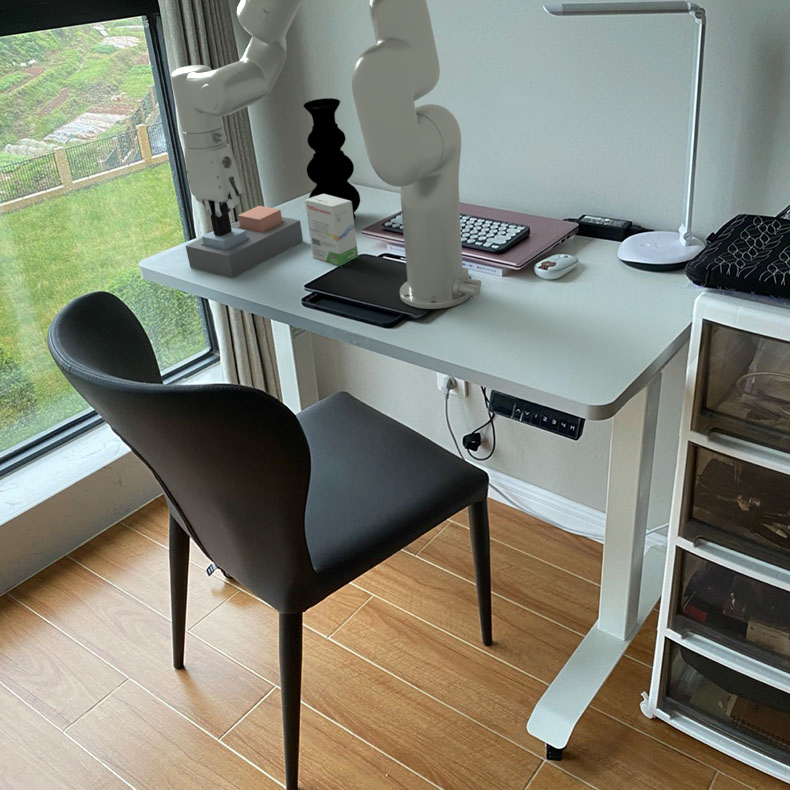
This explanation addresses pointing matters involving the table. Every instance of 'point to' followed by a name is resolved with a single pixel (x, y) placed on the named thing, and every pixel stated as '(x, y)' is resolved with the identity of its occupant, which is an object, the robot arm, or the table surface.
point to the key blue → (225, 239)
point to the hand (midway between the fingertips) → (223, 233)
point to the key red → (260, 219)
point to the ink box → (331, 229)
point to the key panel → (245, 249)
